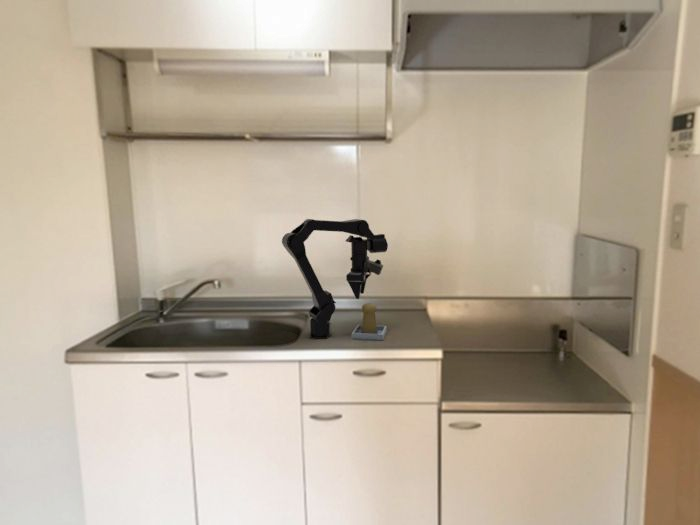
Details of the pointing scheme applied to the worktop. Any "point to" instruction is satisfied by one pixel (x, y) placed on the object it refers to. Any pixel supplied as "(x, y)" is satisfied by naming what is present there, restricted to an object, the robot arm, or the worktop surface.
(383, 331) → the tray
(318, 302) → the robot arm
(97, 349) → the worktop surface
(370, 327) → the cork
